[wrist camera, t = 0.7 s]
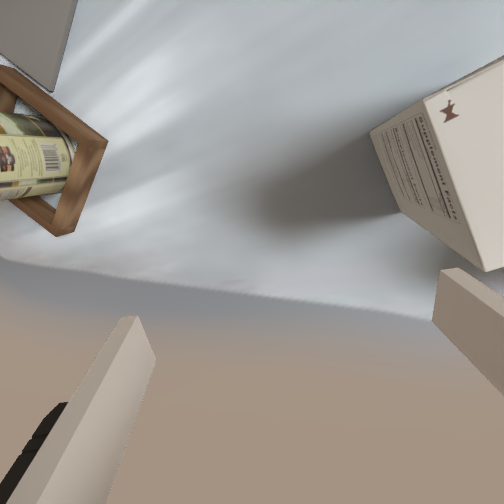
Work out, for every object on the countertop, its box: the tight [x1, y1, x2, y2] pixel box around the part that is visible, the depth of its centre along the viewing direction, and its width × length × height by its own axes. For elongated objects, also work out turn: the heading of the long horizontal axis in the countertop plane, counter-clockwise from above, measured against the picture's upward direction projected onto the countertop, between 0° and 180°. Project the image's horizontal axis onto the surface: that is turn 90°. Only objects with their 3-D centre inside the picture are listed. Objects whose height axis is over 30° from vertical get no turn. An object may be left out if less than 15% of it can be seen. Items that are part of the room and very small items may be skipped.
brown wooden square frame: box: [0, 65, 108, 237], centre depth 37 cm, size 15×15×3 cm
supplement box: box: [370, 55, 504, 272], centre depth 19 cm, size 10×9×17 cm
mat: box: [0, 0, 78, 92], centre depth 32 cm, size 13×13×1 cm
